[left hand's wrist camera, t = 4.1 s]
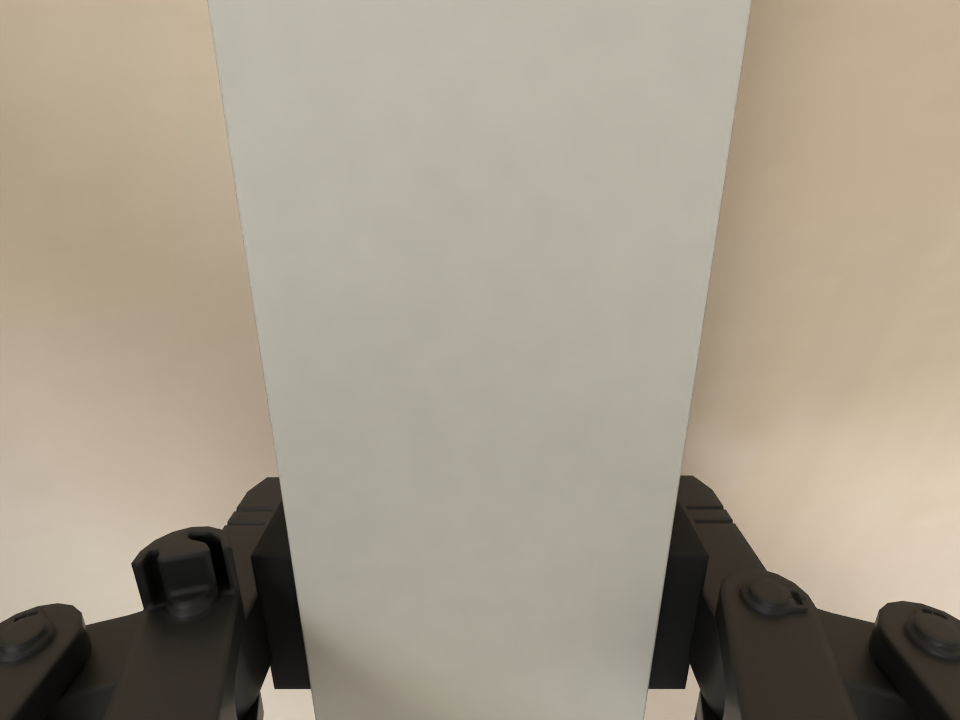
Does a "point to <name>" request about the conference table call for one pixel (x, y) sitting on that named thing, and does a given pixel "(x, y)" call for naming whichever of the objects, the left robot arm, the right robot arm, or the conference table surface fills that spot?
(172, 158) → the conference table surface
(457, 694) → the bar
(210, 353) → the conference table surface
